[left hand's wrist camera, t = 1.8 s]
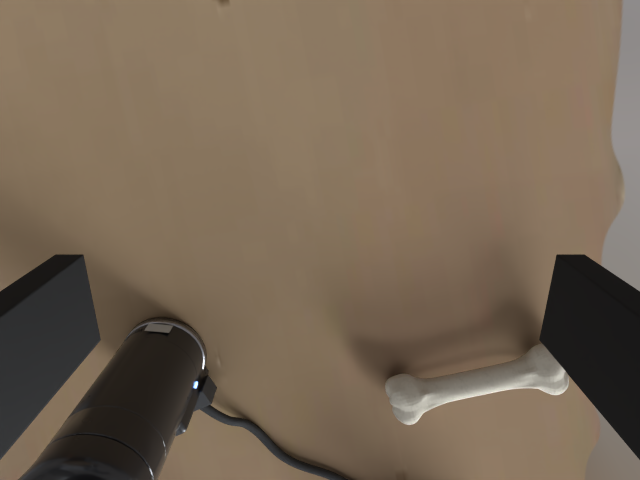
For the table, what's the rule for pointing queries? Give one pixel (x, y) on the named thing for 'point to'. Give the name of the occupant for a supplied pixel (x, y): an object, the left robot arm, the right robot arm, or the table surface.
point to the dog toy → (475, 383)
